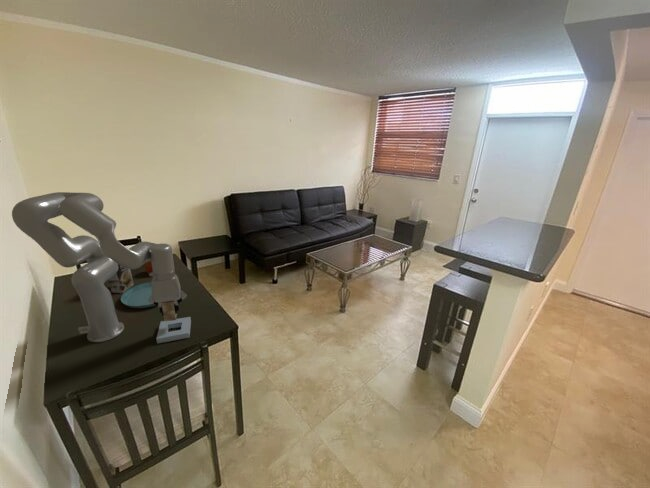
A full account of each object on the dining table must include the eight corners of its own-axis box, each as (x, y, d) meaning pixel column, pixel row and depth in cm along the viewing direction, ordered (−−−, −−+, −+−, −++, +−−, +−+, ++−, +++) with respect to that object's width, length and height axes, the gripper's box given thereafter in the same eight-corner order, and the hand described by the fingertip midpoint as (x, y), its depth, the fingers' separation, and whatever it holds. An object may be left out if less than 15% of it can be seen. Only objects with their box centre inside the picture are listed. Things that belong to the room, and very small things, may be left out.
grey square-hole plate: (157, 343, 115) (156, 338, 114) (161, 326, 126) (160, 321, 125) (189, 337, 119) (188, 332, 119) (191, 321, 130) (190, 316, 129)
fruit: (162, 268, 178) (159, 253, 175) (165, 273, 172) (163, 258, 168) (144, 272, 173) (141, 257, 169) (147, 278, 166) (144, 262, 162)
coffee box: (123, 293, 149) (116, 265, 144) (111, 292, 149) (104, 265, 144) (134, 284, 158) (128, 258, 152) (123, 284, 158) (116, 258, 152)
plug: (164, 321, 117) (161, 303, 114) (165, 315, 121) (163, 297, 118) (175, 320, 119) (173, 301, 116) (176, 314, 123) (174, 296, 119)
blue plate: (117, 296, 147) (115, 290, 146) (167, 282, 163) (166, 277, 162) (128, 317, 131) (126, 311, 130) (182, 299, 147) (181, 293, 146)
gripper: (137, 280, 106) (145, 321, 113) (186, 276, 112) (191, 314, 119) (142, 272, 113) (148, 310, 119) (188, 268, 119) (192, 305, 125)
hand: (170, 312), depth 119 cm, fingers closed on plug, 4 cm apart
